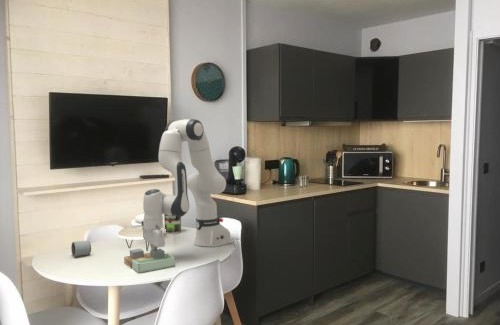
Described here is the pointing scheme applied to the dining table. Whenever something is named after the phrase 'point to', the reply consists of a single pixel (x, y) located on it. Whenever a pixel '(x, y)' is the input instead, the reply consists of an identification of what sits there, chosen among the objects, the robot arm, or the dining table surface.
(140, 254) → the tile
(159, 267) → the tray
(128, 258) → the board
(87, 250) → the ceramic mug
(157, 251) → the tile
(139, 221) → the butter dish
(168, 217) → the coffee can
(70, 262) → the dining table surface
